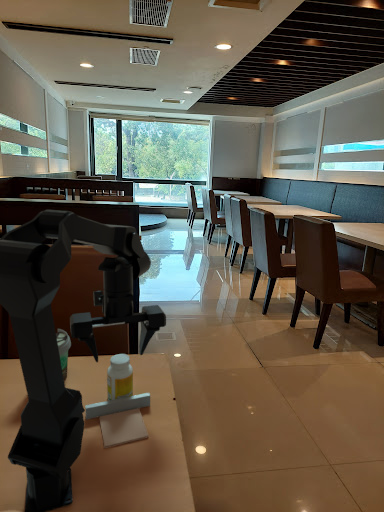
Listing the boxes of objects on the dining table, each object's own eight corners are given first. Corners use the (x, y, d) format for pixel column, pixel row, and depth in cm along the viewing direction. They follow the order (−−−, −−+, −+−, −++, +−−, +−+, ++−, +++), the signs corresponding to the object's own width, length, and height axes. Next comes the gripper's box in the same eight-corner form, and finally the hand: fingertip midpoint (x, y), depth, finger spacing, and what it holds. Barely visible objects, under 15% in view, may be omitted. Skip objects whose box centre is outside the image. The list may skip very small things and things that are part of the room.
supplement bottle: (102, 401, 73) (101, 361, 71) (116, 387, 78) (116, 349, 76) (124, 408, 71) (123, 368, 69) (137, 394, 76) (137, 355, 74)
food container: (50, 399, 73) (47, 357, 71) (26, 393, 75) (22, 352, 72) (83, 368, 85) (81, 331, 82) (61, 364, 86) (59, 327, 84)
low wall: (150, 405, 72) (150, 395, 72) (86, 419, 68) (85, 408, 67) (149, 402, 73) (149, 392, 73) (85, 416, 69) (85, 405, 68)
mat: (148, 437, 64) (148, 435, 64) (104, 448, 61) (104, 446, 61) (139, 409, 71) (139, 408, 71) (99, 418, 68) (99, 416, 68)
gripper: (153, 272, 79) (152, 334, 83) (67, 279, 72) (71, 346, 76) (167, 288, 69) (166, 358, 73) (69, 297, 62) (73, 373, 66)
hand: (119, 357), depth 72 cm, fingers open, 9 cm apart
